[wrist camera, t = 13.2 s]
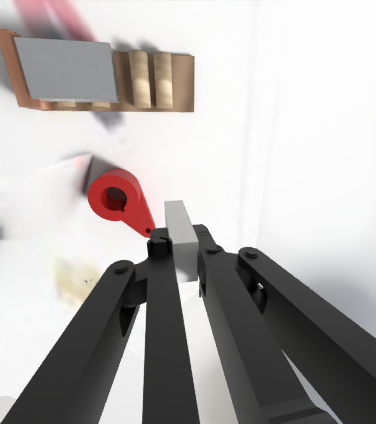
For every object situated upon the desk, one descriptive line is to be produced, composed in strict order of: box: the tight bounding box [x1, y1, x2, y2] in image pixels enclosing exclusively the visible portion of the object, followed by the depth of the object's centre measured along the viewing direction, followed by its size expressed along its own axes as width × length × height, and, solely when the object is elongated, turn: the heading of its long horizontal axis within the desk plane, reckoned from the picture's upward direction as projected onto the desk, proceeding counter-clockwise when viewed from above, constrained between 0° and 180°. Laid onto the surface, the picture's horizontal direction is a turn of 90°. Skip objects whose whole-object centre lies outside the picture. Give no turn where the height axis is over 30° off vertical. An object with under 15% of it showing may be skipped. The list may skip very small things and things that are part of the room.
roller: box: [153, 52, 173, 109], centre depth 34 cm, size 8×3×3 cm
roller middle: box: [129, 50, 151, 108], centre depth 34 cm, size 8×3×3 cm
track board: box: [0, 29, 194, 112], centre depth 32 cm, size 28×9×7 cm, turn 90°
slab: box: [14, 37, 121, 103], centre depth 29 cm, size 12×7×4 cm, turn 90°
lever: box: [88, 169, 156, 238], centre depth 42 cm, size 18×9×7 cm, turn 29°
